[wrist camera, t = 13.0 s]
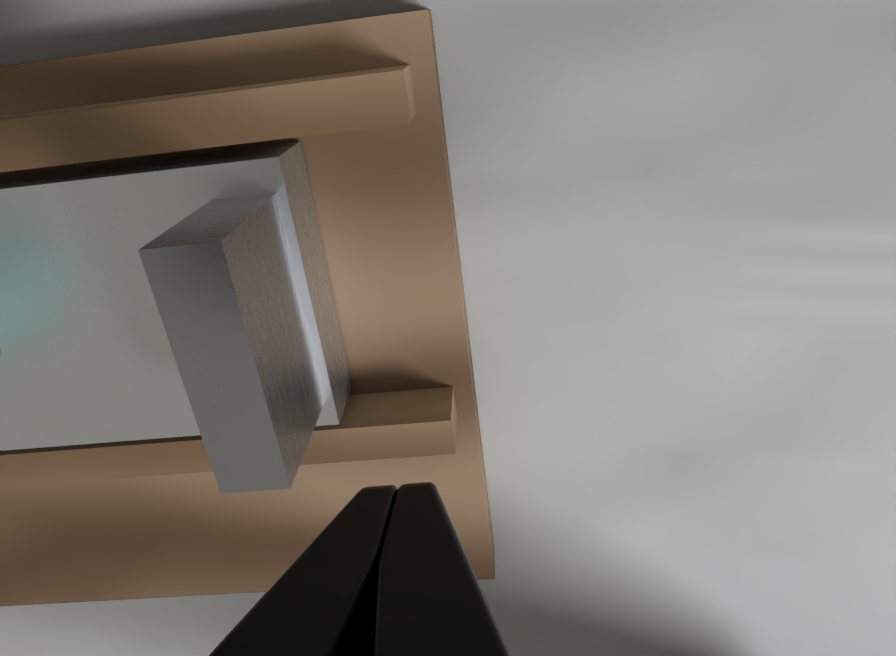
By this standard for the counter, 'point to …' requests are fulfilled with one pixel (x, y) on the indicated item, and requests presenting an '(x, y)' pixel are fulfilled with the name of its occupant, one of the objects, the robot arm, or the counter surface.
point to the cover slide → (171, 310)
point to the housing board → (353, 286)
